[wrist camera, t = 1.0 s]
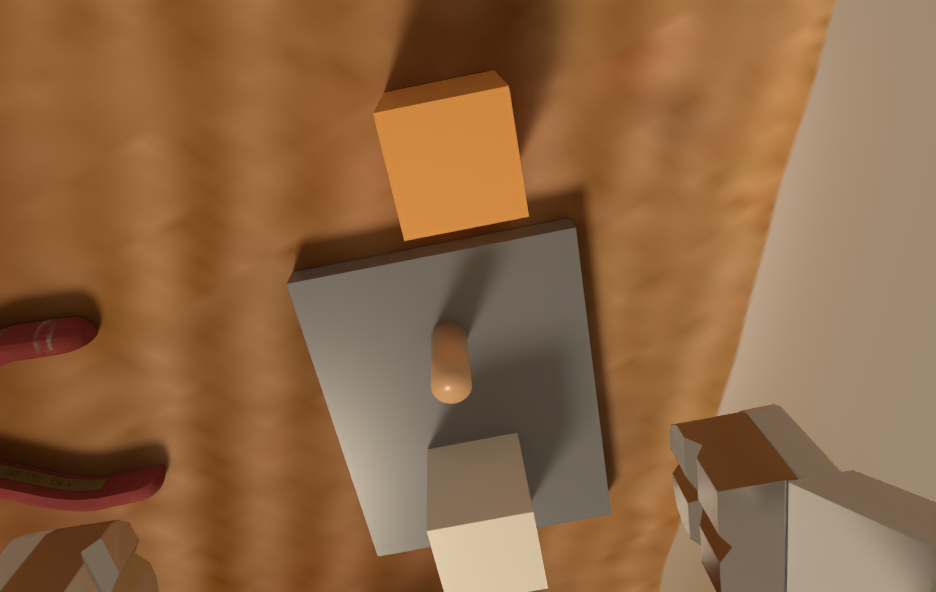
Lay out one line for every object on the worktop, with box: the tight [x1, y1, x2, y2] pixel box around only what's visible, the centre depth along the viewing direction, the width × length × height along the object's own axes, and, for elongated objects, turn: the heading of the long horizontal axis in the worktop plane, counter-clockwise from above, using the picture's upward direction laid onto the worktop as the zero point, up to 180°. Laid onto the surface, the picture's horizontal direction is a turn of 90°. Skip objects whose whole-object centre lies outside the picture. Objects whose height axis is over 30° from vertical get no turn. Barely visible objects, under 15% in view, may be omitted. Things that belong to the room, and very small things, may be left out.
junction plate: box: [287, 218, 611, 592], centre depth 32 cm, size 18×14×8 cm
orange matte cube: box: [373, 70, 529, 241], centre depth 27 cm, size 5×5×6 cm
